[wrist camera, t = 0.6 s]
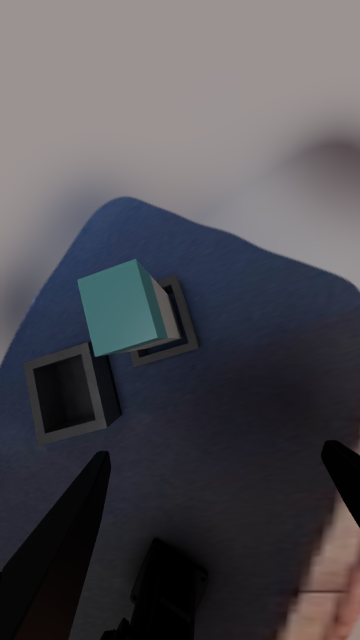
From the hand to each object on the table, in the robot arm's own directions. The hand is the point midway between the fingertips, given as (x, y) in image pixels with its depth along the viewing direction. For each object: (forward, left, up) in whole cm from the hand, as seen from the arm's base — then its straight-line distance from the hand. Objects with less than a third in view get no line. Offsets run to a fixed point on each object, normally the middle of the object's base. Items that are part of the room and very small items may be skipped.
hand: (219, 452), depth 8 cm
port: (-7, +14, -14) cm, 21 cm away
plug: (+4, +8, -14) cm, 17 cm away
